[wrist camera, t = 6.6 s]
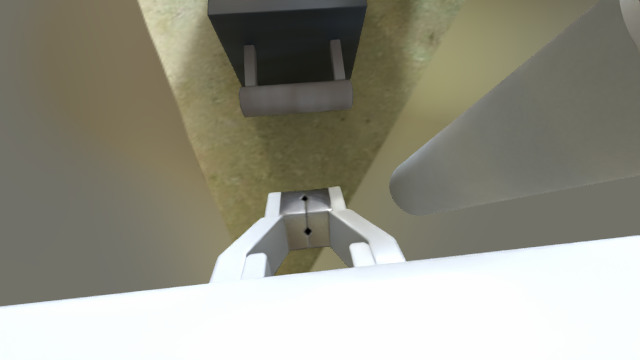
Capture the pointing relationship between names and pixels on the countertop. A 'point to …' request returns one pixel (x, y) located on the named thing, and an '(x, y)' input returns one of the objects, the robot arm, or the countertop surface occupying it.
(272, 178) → the countertop surface
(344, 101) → the drawer
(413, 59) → the countertop surface
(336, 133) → the countertop surface
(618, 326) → the robot arm
